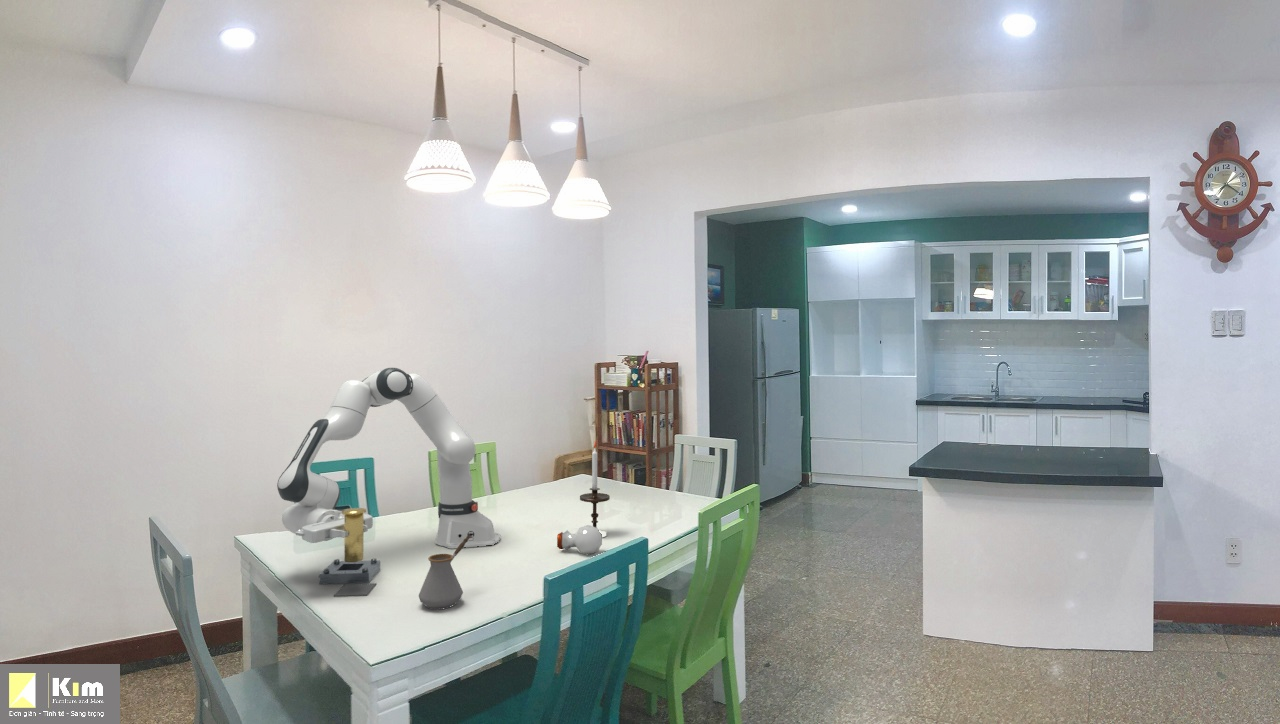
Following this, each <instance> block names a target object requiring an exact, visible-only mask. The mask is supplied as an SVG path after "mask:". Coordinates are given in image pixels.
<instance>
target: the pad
mask: <svg viewBox="0 0 1280 724" xmlns="http://www.w3.org/2000/svg"><path fill="white" fill-rule="evenodd" d="M376 586H377V583H376V582H375V583H374V582H373V583H372V582H371V583H370V582H369V583H354V584H342V586H341V587H340V588H339V589H338V590H337V591H336V592H335V593H334V594H333V597H335V598H337V597H339V598H340V597H366V596H369V594H370V593H371V592H372V591H373V589H374V588H375V587H376Z"/></svg>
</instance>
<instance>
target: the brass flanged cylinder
mask: <svg viewBox="0 0 1280 724" xmlns="http://www.w3.org/2000/svg"><path fill="white" fill-rule="evenodd" d="M364 513H365V514H366V513H367V509H366V508H363V507H362V508H361V507H351V508H350V509H345V510H343V511H342V514H344V530H348V531H349V533H348V534H349V536H348V537H345V538H343V539H344V549H343V550H344V553H343V554H344V560H343V561H345V562H358V561H364V533H365V532H364Z"/></svg>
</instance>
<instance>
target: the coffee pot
mask: <svg viewBox="0 0 1280 724" xmlns="http://www.w3.org/2000/svg"><path fill="white" fill-rule="evenodd" d="M470 537H472V536H470V535H468V536H467V537H466V539H464V541H463V542H462V543H461V544H460V545H459V546H458V548H455V550H454V552H453V554H450V553H438V554H437V553H436V554H432V555H430V556H429V557H428V561H429V562H430V567H429V569H428V572H427V574H426V576H425V579H424V581H423V584H422V586H421V588H420V591H419V593H418V599H419V601H420V603H422V604H423V605H424V606H425V607H426V608H427V609H429V608H430V610H436V609H438V610H444V609H443V608H446V609H448V608H447V607H450V606H452V605H454V604H455V603H456V604H457V603H458V602H459V601H460V600H461V598H462V596H463V593H464V592H463V588H462V586H461V583H460V582H459V580H458V577H457V575H456V573H455V570H454V569H453V566H452V565H451V563H452V561H453V560H454V559H455V557H456V556H457V555H458V554H459V553H460V552H461V551H462V549H463V547H464V545H465V543H466V542H468V539H469V538H470ZM472 538H473V537H472ZM473 540H474V538H473ZM473 540H469V541H473ZM456 604H455V605H456ZM455 605H454V606H455ZM452 607H453V606H452ZM450 608H451V607H450Z"/></svg>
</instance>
